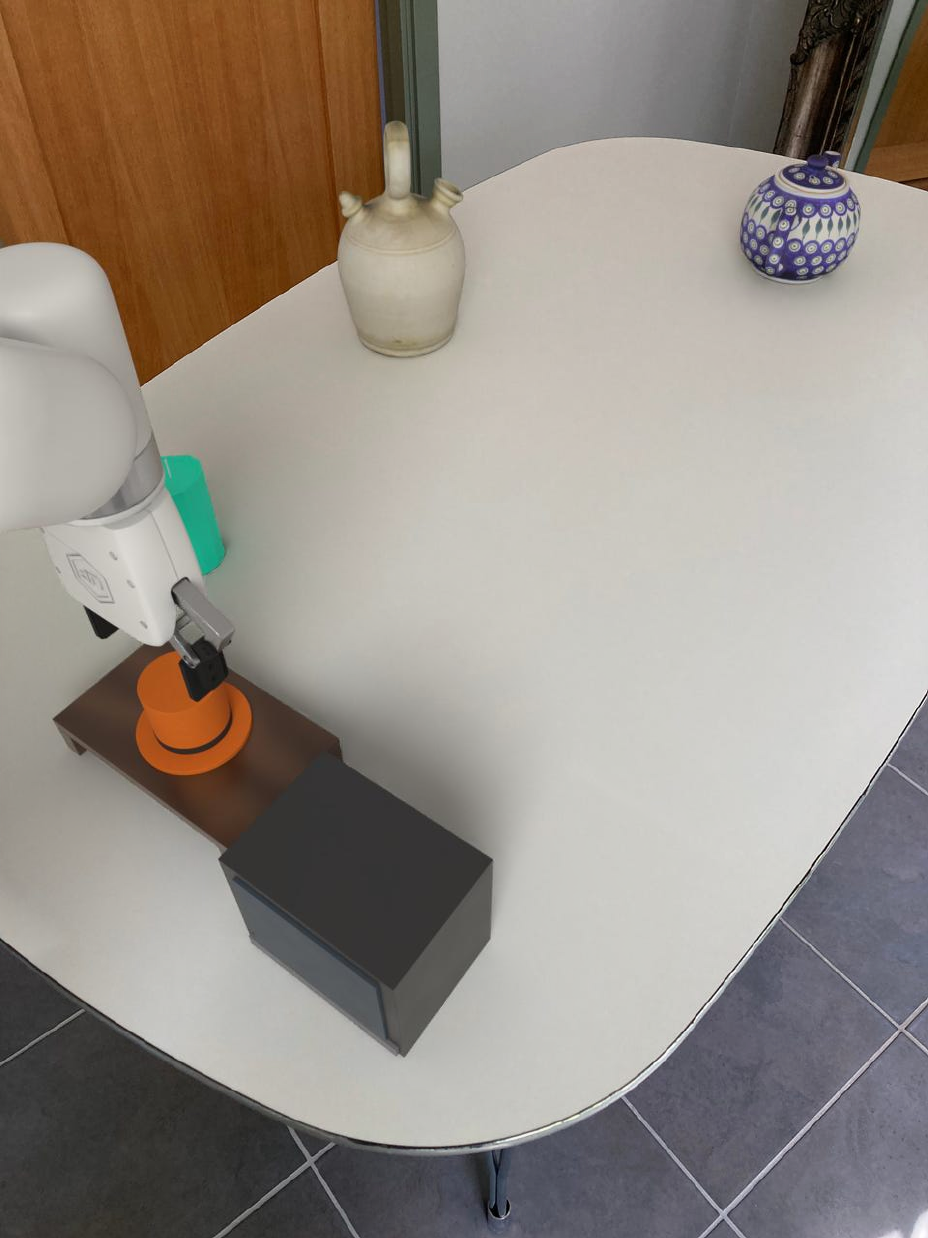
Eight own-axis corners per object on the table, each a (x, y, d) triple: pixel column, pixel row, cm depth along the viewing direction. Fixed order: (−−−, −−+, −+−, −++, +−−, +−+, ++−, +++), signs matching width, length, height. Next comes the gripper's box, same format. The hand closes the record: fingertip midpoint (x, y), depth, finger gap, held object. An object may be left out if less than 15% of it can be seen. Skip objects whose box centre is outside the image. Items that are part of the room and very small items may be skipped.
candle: (237, 545, 95) (212, 449, 86) (202, 584, 92) (172, 489, 83) (187, 528, 97) (158, 432, 88) (151, 566, 93) (117, 470, 84)
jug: (474, 302, 125) (474, 98, 107) (456, 370, 115) (453, 157, 96) (360, 294, 127) (340, 92, 108) (332, 360, 117) (305, 149, 98)
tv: (401, 1062, 63) (389, 995, 54) (247, 941, 68) (213, 862, 59) (490, 938, 68) (493, 859, 59) (341, 836, 74) (323, 749, 65)
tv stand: (240, 876, 72) (230, 851, 69) (67, 746, 79) (51, 718, 76) (344, 766, 78) (339, 738, 75) (175, 655, 86) (164, 626, 83)
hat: (193, 795, 72) (174, 751, 67) (113, 737, 75) (90, 691, 71) (275, 716, 77) (263, 669, 72) (197, 665, 80) (180, 617, 76)
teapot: (811, 324, 121) (845, 209, 110) (701, 292, 127) (723, 179, 116) (869, 242, 135) (904, 133, 124) (768, 216, 141) (793, 109, 130)
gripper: (-51, 444, 57) (41, 635, 70) (145, 562, 50) (208, 750, 63) (52, 386, 61) (122, 576, 74) (246, 487, 54) (287, 678, 67)
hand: (162, 656), depth 68 cm, fingers open, 9 cm apart
